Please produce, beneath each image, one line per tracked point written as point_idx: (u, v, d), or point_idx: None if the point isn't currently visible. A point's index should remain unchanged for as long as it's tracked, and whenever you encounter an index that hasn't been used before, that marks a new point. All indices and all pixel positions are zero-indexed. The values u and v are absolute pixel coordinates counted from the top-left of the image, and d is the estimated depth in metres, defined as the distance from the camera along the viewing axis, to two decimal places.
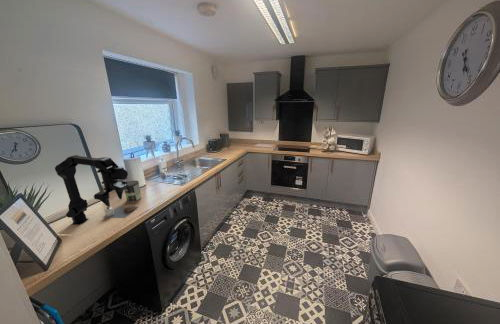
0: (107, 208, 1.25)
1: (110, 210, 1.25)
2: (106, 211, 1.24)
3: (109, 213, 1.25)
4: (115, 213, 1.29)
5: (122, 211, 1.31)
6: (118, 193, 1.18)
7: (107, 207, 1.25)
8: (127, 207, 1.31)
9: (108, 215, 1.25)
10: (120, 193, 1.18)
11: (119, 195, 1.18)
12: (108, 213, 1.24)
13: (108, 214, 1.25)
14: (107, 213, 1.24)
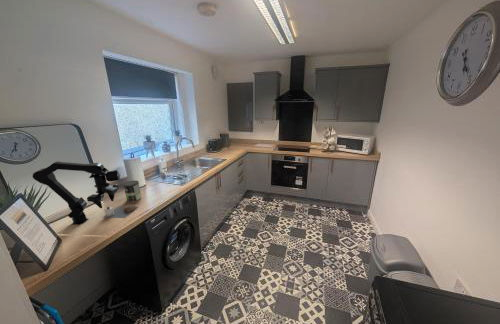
0: (107, 208, 1.25)
1: (110, 210, 1.25)
2: (106, 211, 1.24)
3: (109, 213, 1.25)
4: (115, 213, 1.29)
5: (122, 211, 1.31)
6: (110, 195, 1.28)
7: (107, 207, 1.25)
8: (127, 207, 1.31)
9: (108, 215, 1.25)
10: (112, 195, 1.28)
11: (111, 197, 1.28)
12: (108, 213, 1.24)
13: (108, 214, 1.25)
14: (107, 213, 1.24)
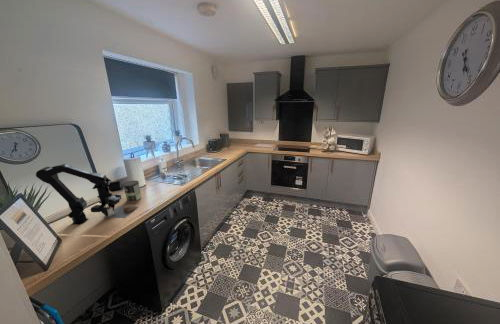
0: (107, 208, 1.25)
1: (110, 210, 1.25)
2: None
3: (109, 213, 1.25)
4: (115, 213, 1.29)
5: (122, 211, 1.31)
6: None
7: None
8: (127, 207, 1.31)
9: (108, 215, 1.25)
10: (112, 207, 1.28)
11: None
12: (108, 213, 1.24)
13: (108, 214, 1.25)
14: None
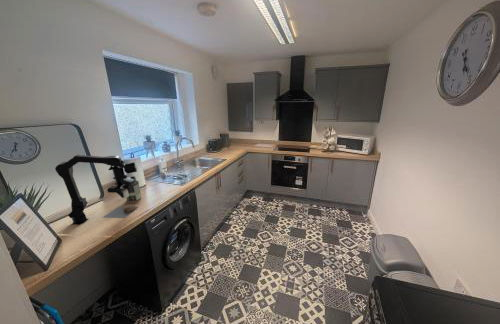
0: None
1: (125, 192, 1.27)
2: None
3: (124, 195, 1.27)
4: (115, 213, 1.29)
5: (122, 211, 1.31)
6: None
7: None
8: (127, 207, 1.31)
9: (124, 196, 1.27)
10: None
11: None
12: (124, 194, 1.27)
13: (124, 196, 1.27)
14: (123, 194, 1.27)
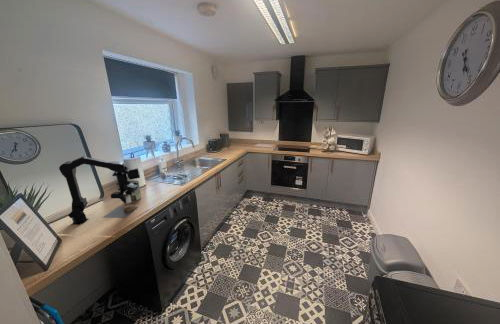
0: None
1: (128, 197, 1.29)
2: None
3: (127, 200, 1.29)
4: (115, 213, 1.29)
5: (122, 211, 1.31)
6: None
7: None
8: (127, 207, 1.31)
9: (126, 202, 1.29)
10: (130, 194, 1.32)
11: None
12: (126, 200, 1.29)
13: (126, 201, 1.29)
14: None
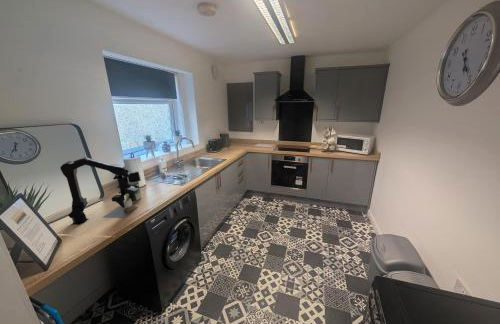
0: (126, 200, 1.30)
1: (129, 202, 1.30)
2: (126, 203, 1.29)
3: (128, 205, 1.30)
4: (115, 213, 1.29)
5: (122, 211, 1.31)
6: (131, 196, 1.35)
7: (126, 199, 1.30)
8: None
9: (127, 206, 1.30)
10: (132, 196, 1.35)
11: (132, 197, 1.35)
12: (127, 204, 1.30)
13: (127, 206, 1.30)
14: (126, 204, 1.29)
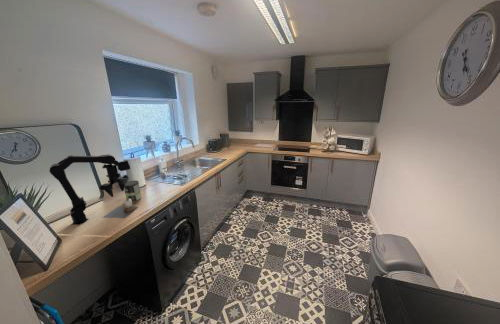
0: (126, 200, 1.30)
1: (129, 202, 1.30)
2: (126, 203, 1.29)
3: (128, 205, 1.30)
4: (115, 213, 1.29)
5: (122, 211, 1.31)
6: (120, 185, 1.36)
7: (126, 199, 1.30)
8: None
9: (127, 206, 1.30)
10: (122, 185, 1.36)
11: (121, 187, 1.36)
12: (127, 204, 1.30)
13: (127, 206, 1.30)
14: (126, 204, 1.29)
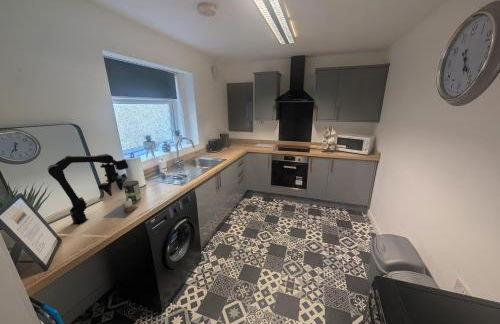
0: (126, 200, 1.30)
1: (129, 202, 1.30)
2: (125, 203, 1.29)
3: (128, 205, 1.30)
4: (115, 213, 1.29)
5: (122, 211, 1.31)
6: (119, 185, 1.37)
7: (126, 199, 1.30)
8: None
9: (127, 206, 1.30)
10: (120, 185, 1.37)
11: (120, 186, 1.37)
12: (127, 204, 1.30)
13: (127, 206, 1.30)
14: (126, 205, 1.29)
